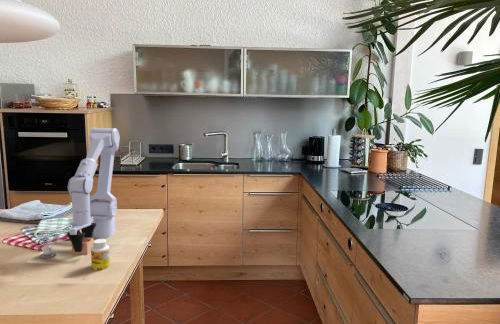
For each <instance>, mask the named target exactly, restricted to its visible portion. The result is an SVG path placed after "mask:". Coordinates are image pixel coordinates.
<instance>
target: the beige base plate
mask: <svg viewBox="0 0 500 324" xmlns="http://www.w3.org/2000/svg"><path fill="white" fill-rule="evenodd" d="M51 245H52V252H55V253H56V256H55V257H53V258H49V259H41V258H39V256H40V255H41V254H43V250H42V251H41V252H38V254H36V255H35V256H34V257H32V258H31V259H29V260H28V261H27V262H25V263H26V264H45V265H46V264H49V265H50V264H51V265H53V264H55V265H75V264H77V263H78V262H79V261H80V260H81V259H82V258H83V257H84V256H85V255H86V254H72V242H71V241H70V240H56V241H54V242H53V243H51Z"/></svg>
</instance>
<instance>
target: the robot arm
mask: <svg viewBox="0 0 500 324" xmlns="http://www.w3.org/2000/svg"><path fill="white" fill-rule="evenodd" d="M88 137H89V143H90V144H89V148H88V149H87V150H88V151H87V154H86V158H84V159H81V160H80V162H79V166H78V167H77V169H76V172H75V174H74V176H72V177H71V178H69V180H68V183H67V191H68V192H69V198H70V199H71V209H72V221H71V222H69V225H70V226H71V227H70V228H69V231H68V232H66V236H67V238H68V239H69V241H71V242H72V245H73V248H74V251H75V252H81V251H82V244H83V238H94V239H95V240H97V239H105V240H106V239H108V238H112V237H113V236H114V234H115V233H116V232H117V231H116V218H115V216H116V214H117V211H118V205H117V204H118V202H117V201H118V200H117V198H116V197H115V196H114V195H113V194H112V193H111V188H112V180H113V179H112V178H113V169H114V161H115V152H117V151H118V150H119V147H120V138H121V137H120V132H119V130H118V129H117V128H116V127H113V128H109V127H108V128H107V127H94V126H93V127H91V129H90V131H89V136H88ZM99 157H100V161H99V162H100V163H99V171H98V177H97V178H98V179H97V188H96V192H95V193H94V194H93V195H90V193H91V192H92V190H93V186H94V179H93V177H94V175H95V173H96V170H97V168H98V164H97V160H98V158H99Z"/></svg>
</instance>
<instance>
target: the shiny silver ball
mask: <svg viewBox="0 0 500 324" xmlns="http://www.w3.org/2000/svg"><path fill="white" fill-rule="evenodd" d="M42 251H43V254H41V255H40V256H39V258H41V259H49V258H53V257H55V256H56V253H55V252H52V244H45V245H43V246H42Z"/></svg>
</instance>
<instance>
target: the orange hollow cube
mask: <svg viewBox="0 0 500 324" xmlns="http://www.w3.org/2000/svg"><path fill="white" fill-rule="evenodd" d="M94 240H95V238H94V237H92V238H83V244H82V251H81V252H75V251H74V248H73V245H72V254H85V255H89V254H91V248H92V247H93V241H94Z"/></svg>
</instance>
